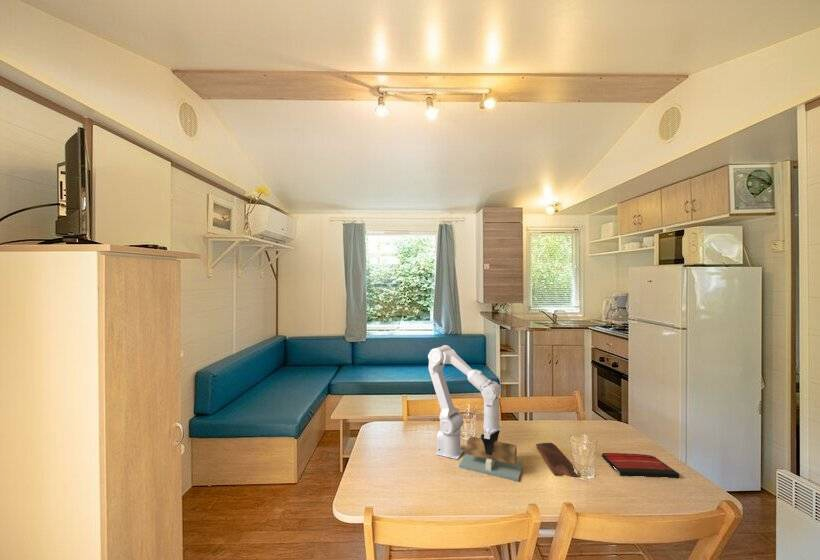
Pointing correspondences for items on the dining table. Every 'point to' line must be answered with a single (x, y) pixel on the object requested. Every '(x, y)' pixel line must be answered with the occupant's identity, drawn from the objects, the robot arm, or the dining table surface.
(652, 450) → the dining table surface
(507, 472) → the ridge stand
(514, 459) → the walnut bar
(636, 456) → the binder
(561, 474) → the wooden tablet
